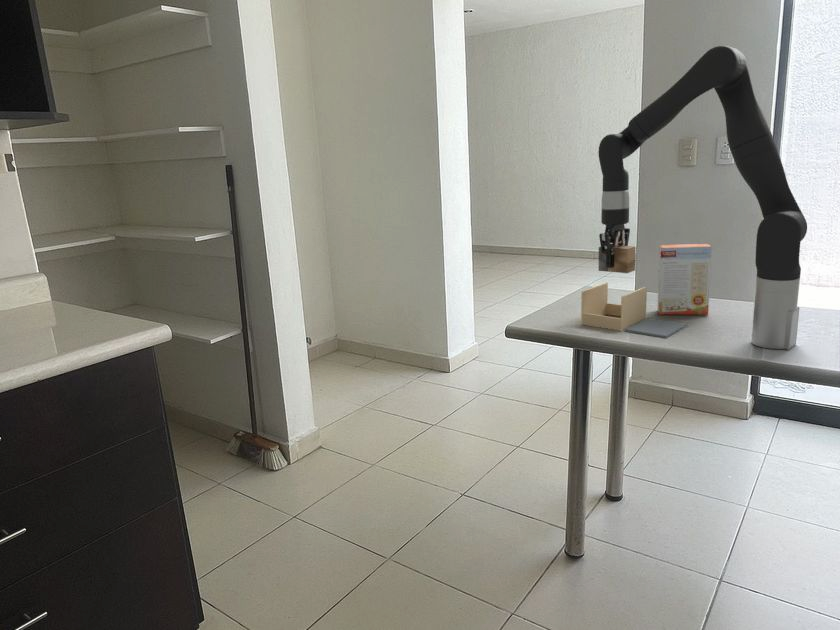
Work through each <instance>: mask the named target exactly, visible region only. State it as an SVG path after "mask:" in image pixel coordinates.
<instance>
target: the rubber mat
mask: <svg viewBox="0 0 840 630" xmlns="http://www.w3.org/2000/svg"><path fill="white" fill-rule="evenodd" d="M686 326H687V327H688V326H689V324H688V323H684V322H676V321H671V320H663V319H657V318H649V317H648V318H647V317H646V319H644V320H642V321H640V322H638V323H636V324H634V325H632V326H630V327H628V328H626V329H625V330H624V332H628V333H632V334H633V333H634V334H640V335H646V336H651V337H657V338H663V339H664V338H665V339H667V338H669V337H671V336H673V335H675V334H676V333H678V332H680V331H682V330H683V329H684V327H685V328H687V327H686ZM679 330H680V331H679ZM677 331H678V332H677ZM675 332H676V333H675ZM672 334H673V335H672Z"/></svg>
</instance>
